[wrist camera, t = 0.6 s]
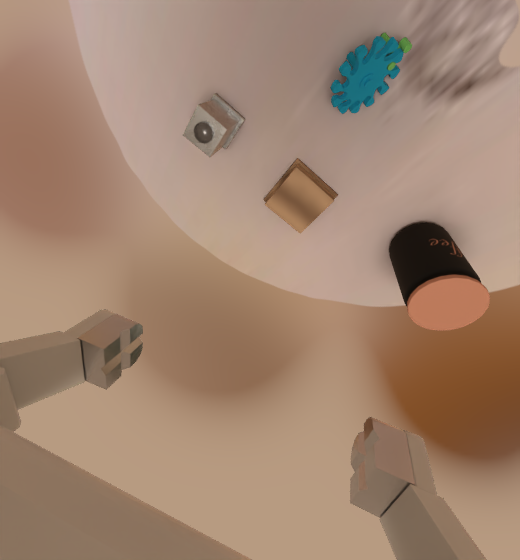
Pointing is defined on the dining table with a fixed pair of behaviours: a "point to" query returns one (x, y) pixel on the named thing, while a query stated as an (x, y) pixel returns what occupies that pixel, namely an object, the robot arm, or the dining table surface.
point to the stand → (299, 196)
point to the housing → (213, 125)
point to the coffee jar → (436, 279)
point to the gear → (368, 72)
